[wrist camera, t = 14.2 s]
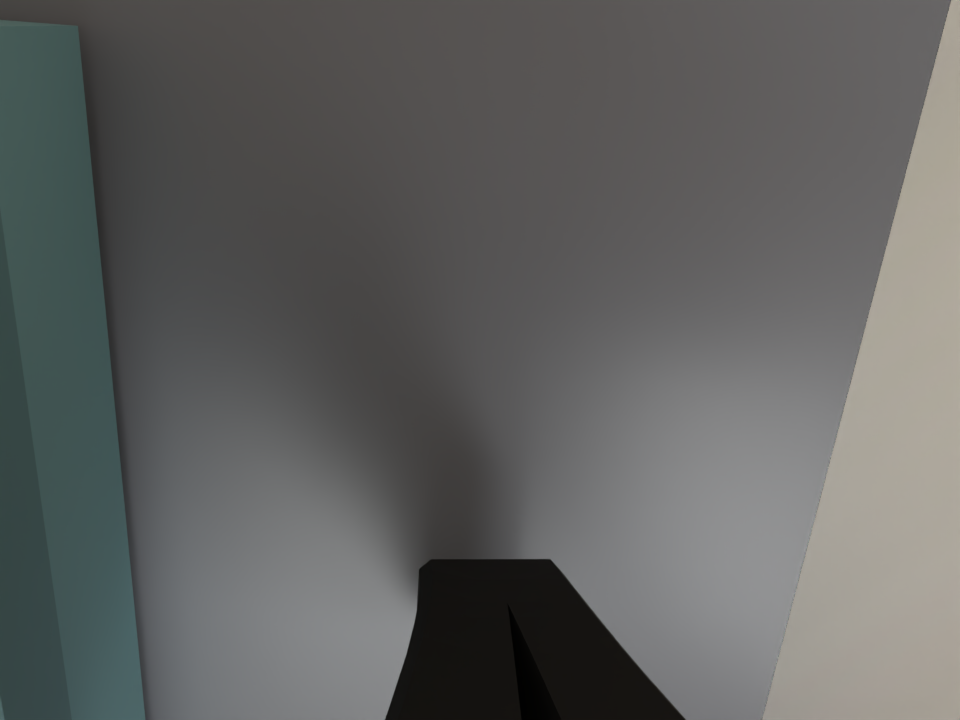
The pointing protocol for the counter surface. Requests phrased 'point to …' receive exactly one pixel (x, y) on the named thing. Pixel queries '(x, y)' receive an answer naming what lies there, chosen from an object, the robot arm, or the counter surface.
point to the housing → (481, 317)
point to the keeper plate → (57, 406)
